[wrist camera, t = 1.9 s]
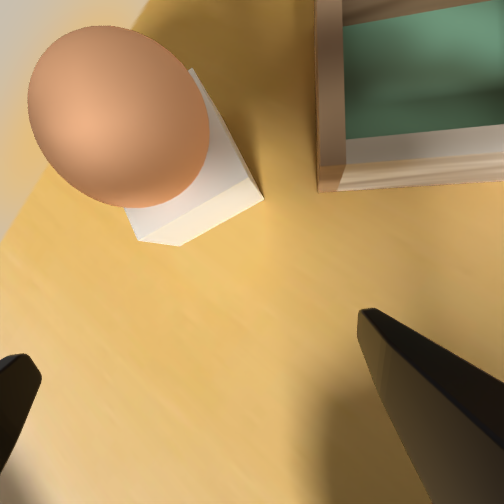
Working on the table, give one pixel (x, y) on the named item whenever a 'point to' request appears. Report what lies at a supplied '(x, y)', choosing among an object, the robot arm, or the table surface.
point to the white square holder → (201, 190)
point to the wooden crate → (408, 93)
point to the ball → (118, 116)
